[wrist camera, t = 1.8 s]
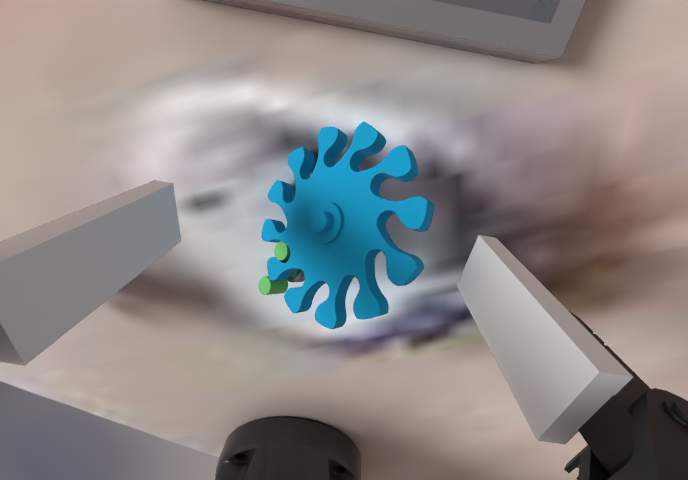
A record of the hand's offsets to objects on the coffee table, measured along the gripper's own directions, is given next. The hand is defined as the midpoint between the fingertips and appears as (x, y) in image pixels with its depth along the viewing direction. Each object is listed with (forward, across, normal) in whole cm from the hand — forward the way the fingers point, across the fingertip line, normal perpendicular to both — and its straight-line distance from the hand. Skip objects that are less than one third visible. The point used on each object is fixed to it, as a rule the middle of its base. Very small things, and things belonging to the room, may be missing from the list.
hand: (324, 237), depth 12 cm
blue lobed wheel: (+6, 0, +1) cm, 6 cm away
